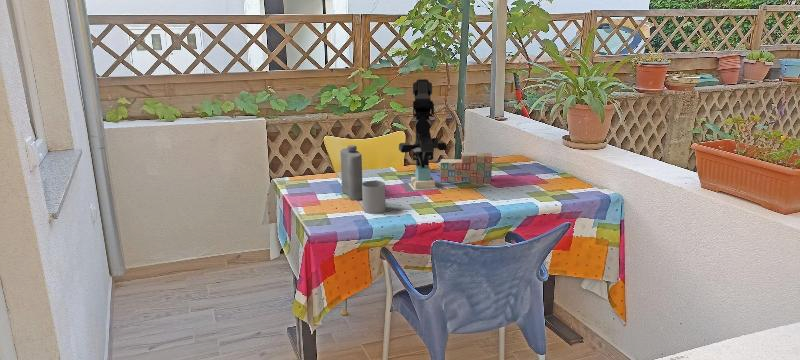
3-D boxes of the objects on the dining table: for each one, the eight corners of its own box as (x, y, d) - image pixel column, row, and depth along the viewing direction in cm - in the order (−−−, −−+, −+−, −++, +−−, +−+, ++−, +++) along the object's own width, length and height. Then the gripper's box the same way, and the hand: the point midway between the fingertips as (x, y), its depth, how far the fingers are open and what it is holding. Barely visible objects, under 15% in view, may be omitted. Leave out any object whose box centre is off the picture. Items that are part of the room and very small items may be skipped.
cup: (362, 206, 216) (361, 181, 214) (384, 206, 217) (384, 180, 214) (363, 214, 208) (362, 187, 206) (386, 213, 209) (385, 186, 206)
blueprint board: (400, 185, 242) (400, 183, 242) (437, 183, 245) (437, 180, 245) (407, 194, 231) (407, 191, 231) (445, 191, 234) (445, 188, 234)
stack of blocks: (440, 183, 245) (440, 155, 241) (440, 179, 251) (440, 152, 247) (491, 184, 243) (492, 155, 240) (490, 180, 249) (491, 152, 246)
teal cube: (415, 177, 239) (415, 166, 237) (427, 177, 240) (427, 165, 238) (418, 181, 234) (418, 169, 233) (430, 180, 235) (430, 168, 234)
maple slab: (411, 184, 241) (411, 177, 240) (429, 182, 242) (429, 175, 242) (415, 189, 233) (415, 182, 232) (434, 188, 235) (434, 180, 234)
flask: (366, 199, 225) (365, 149, 219) (352, 201, 223) (350, 150, 217) (354, 189, 238) (352, 141, 233) (340, 191, 236) (338, 142, 230)
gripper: (404, 134, 222) (404, 173, 226) (451, 131, 226) (450, 170, 230) (398, 129, 232) (398, 166, 237) (443, 126, 236) (442, 164, 240)
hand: (422, 167), depth 236 cm, fingers closed, pressing on teal cube
